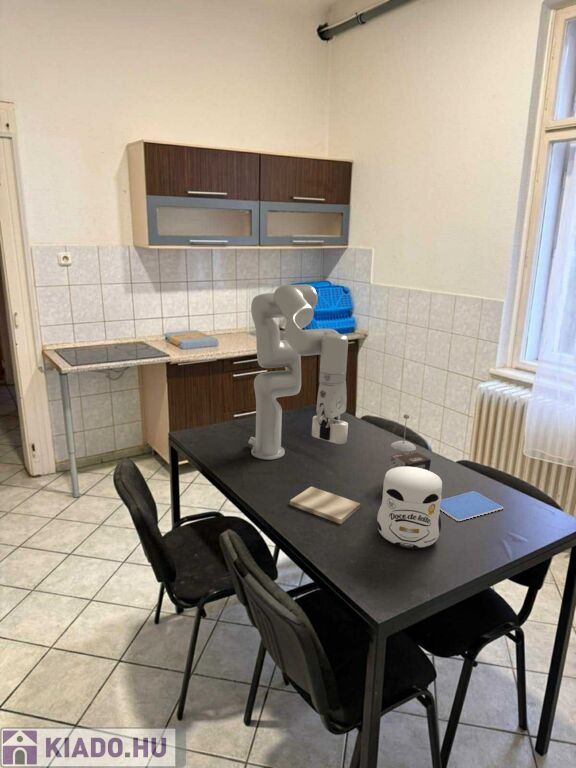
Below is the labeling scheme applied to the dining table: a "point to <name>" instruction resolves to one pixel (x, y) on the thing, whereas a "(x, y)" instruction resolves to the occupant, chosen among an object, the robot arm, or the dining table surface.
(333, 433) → the rounded block
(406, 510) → the doce de leite jar
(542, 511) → the dining table surface
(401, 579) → the dining table surface
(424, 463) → the coffee box
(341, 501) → the birch board
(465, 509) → the blue flat pad
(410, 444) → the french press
